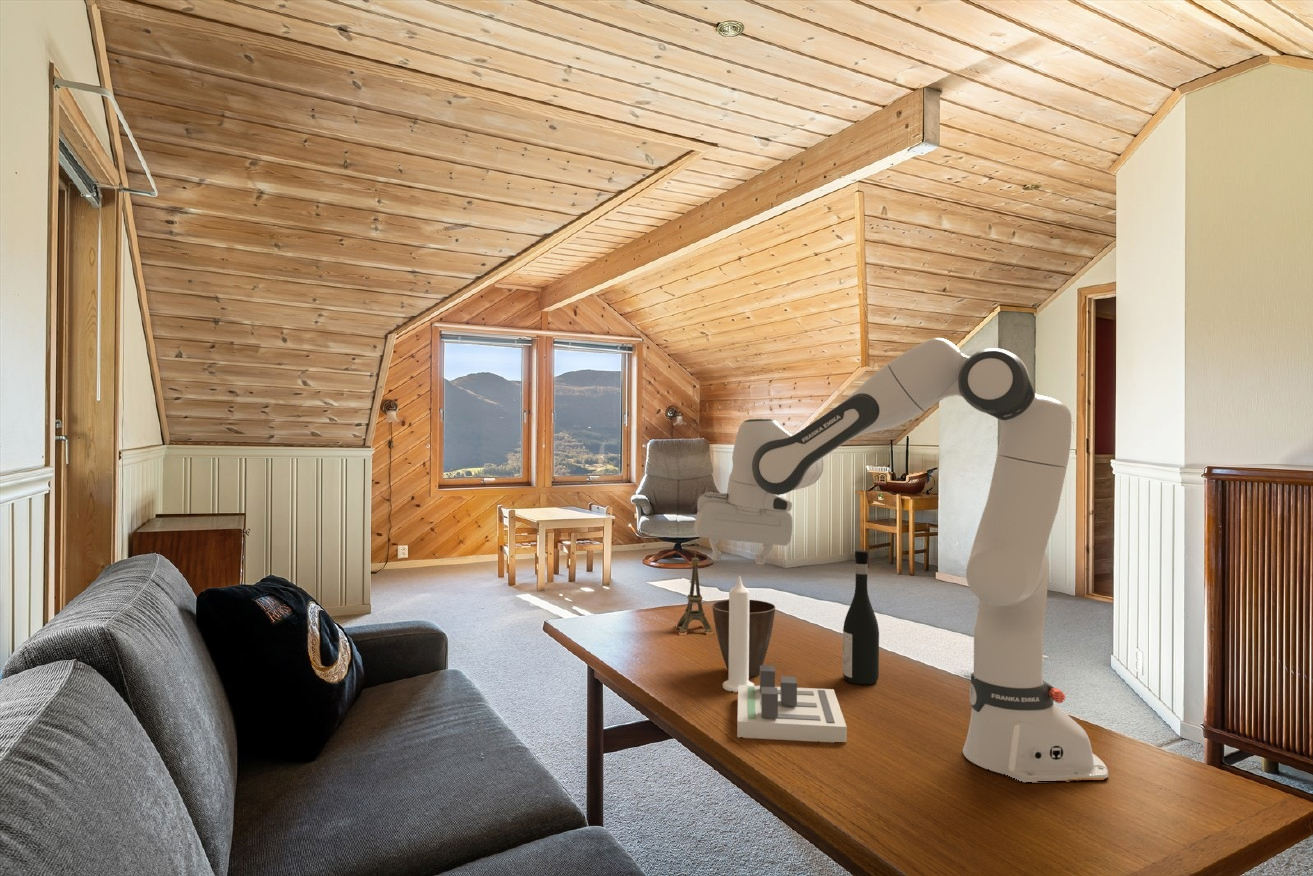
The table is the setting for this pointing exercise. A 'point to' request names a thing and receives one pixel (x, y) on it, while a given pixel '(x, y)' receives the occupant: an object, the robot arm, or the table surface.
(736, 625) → the candle
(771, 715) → the handle
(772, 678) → the handle
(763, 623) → the plant pot
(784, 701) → the handle
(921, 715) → the table surface
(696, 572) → the eiffel tower
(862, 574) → the wine bottle
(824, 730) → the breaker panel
